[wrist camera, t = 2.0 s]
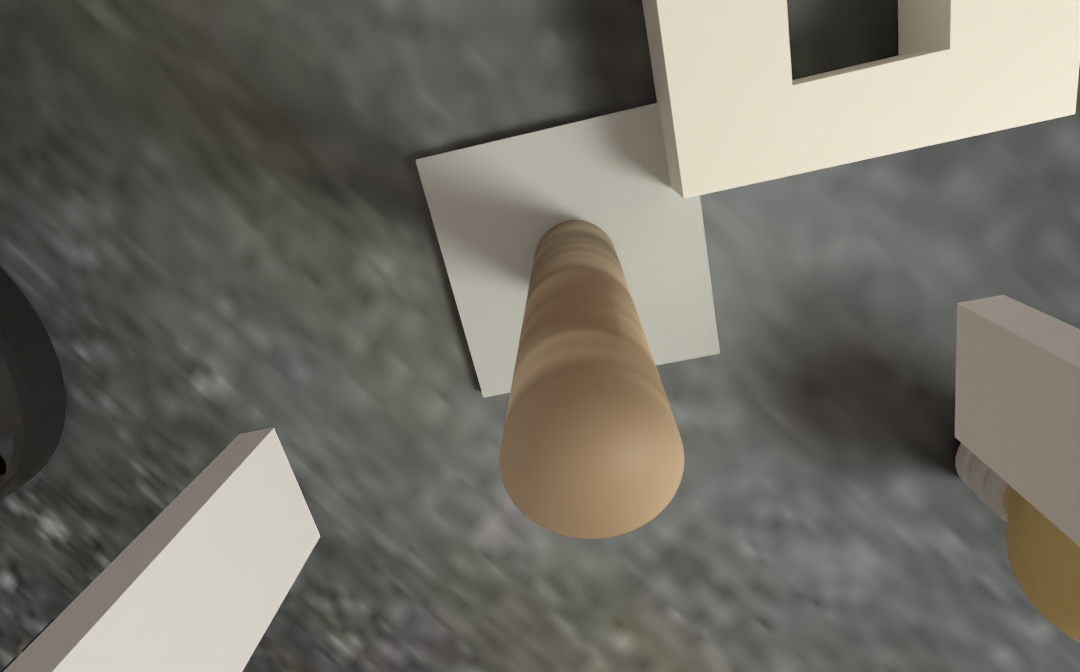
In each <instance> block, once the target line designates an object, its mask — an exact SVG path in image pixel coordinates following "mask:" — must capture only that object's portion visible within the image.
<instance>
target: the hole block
mask: <svg viewBox="0 0 1080 672" xmlns="http://www.w3.org/2000/svg"><path fill="white" fill-rule="evenodd" d="M642 3H643V10H644V17H645V24H646V31H647V38H648V45H649V51H650V58H651V65H652V72H653V79H654V86H655V93H656V100H657V103H659V109H660V116H661V123H662V130H663V137H664V144H665V151H666V158H667V165H668V172H669V179H670V186H671V188H672V189H673V190H674V191H675V192H676V193H678V194H679V195H680V196H681V197H682V198H684V199H685V198H689V197H694V196H699V195H703V194H708V193H712V192H717V191H722V190H726V189H731V188H736V187H740V186H745V185H749V184H754V183H759V182H763V181H768V180H773V179H777V178H782V177H786V176H791V175H796V174H800V173H805V172H810V171H814V170H819V169H823V168H828V167H833V166H837V165H842V164H847V163H851V162H856V161H860V160H865V159H870V158H874V157H879V156H884V155H888V154H893V153H897V152H902V151H907V150H911V149H916V148H921V147H925V146H930V145H934V144H939V143H944V142H948V141H953V140H958V139H962V138H967V137H971V136H976V135H981V134H985V133H990V132H995V131H999V130H1004V129H1009V128H1013V127H1018V126H1022V125H1027V124H1032V123H1036V122H1041V121H1046V120H1050V119H1055V118H1059V117H1064V116H1069V115H1073V114H1075V110H1076V99H1077V87H1078V75H1079V64H1080V0H898V56H894V57H889V58H885V59H881V60H876V61H872V62H868V63H864V64H859V65H855V66H851V67H846V68H842V69H838V70H834V71H829V72H825V73H821V74H816V75H812V76H808V77H804V78H799V79H795V80H792V70H791V56H790V42H789V27H788V13H787V0H642Z"/></svg>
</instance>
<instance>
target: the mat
mask: <svg viewBox="0 0 1080 672" xmlns="http://www.w3.org/2000/svg"><path fill="white" fill-rule="evenodd" d="M415 161H416V165H417V168H418V172H419V175H420V179H421V182H422V186H423V189H424V193H425V196H426V200H427V203H428V207H429V210H430V214H431V217H432V221H433V224H434V228H435V231H436V234H437V238H438V241H439V245H440V248H441V252H442V255H443V259H444V262H445V266H446V269H447V273H448V276H449V280H450V283H451V287H452V290H453V294H454V297H455V301H456V304H457V308H458V311H459V315H460V318H461V322H462V325H463V328H464V332H465V335H466V339H467V342H468V346H469V349H470V353H471V356H472V360H473V363H474V367H475V370H476V374H477V377H478V381H479V384H480V388H481V391H482V395H483V398H484V397H489V396H494V395H500V394H505V393H510V391H511V386H512V380H513V374H514V369H515V363H516V357H517V352H518V346H519V340H520V335H521V329H522V323H523V317H524V312H525V306H526V300H527V295H528V289H529V283H530V278H531V272H532V266H533V261H534V255H535V251H536V248H537V245H538V243H539V241H540V239H541V238H542V237H543V235H544V234H545V233H546V232H547V231H548V230H550V229H551V228H552V227H554V226H556V225H558V224H560V223H563V222H566V221H573V220H579V221H585V222H589V223H592V224H594V225H596V226H598V227H599V228H600V229H602V230H603V231H604V232H605V233H606V234H607V235H608V236H609V238H610V239H611V241H612V243H613V245H614V248H615V250H616V253H617V256H618V259H619V262H620V265H621V268H622V270H623V273H624V276H625V279H626V282H627V285H628V288H629V291H630V293H631V296H632V299H633V302H634V305H635V308H636V311H637V313H638V316H639V319H640V322H641V325H642V328H643V331H644V334H645V336H646V339H647V342H648V345H649V348H650V351H651V354H652V357H653V359H654V362H655V365H661V364H666V363H671V362H677V361H682V360H688V359H693V358H698V357H704V356H709V355H714V354H720V350H719V342H718V334H717V326H716V318H715V311H714V303H713V295H712V287H711V279H710V272H709V264H708V256H707V248H706V240H705V233H704V225H703V217H702V209H701V201H700V195H699V196H694V197H689V198H685V199H684V198H682V197H681V196H680V195H679V194H678V193H676V192H675V191H674V190H673V189H672V188H671V186H670V179H669V172H668V165H667V158H666V151H665V144H664V137H663V130H662V123H661V116H660V109H659V103H654V104H649V105H645V106H641V107H637V108H632V109H628V110H624V111H620V112H615V113H611V114H607V115H603V116H598V117H594V118H590V119H585V120H581V121H577V122H573V123H568V124H564V125H560V126H556V127H551V128H547V129H543V130H539V131H534V132H530V133H526V134H522V135H517V136H513V137H509V138H505V139H500V140H496V141H492V142H488V143H483V144H479V145H475V146H471V147H466V148H462V149H458V150H454V151H449V152H445V153H441V154H437V155H432V156H428V157H424V158H420V159H416V160H415Z"/></svg>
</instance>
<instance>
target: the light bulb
mask: <svg viewBox="0 0 1080 672" xmlns="http://www.w3.org/2000/svg"><path fill="white" fill-rule="evenodd" d="M955 467H956V470H957V473H958V475H959V477H960V479H961V480H962V481H963V482H964V483H965V484H966V485H967V486H968V487H969V488H970V489H971V490H972V491H974V492H975V493H976V495H977V496H978V497H979V498H980V499H981V500H982V501H983V502H984V503H986V504H987V505H989V507H990V508H991V509H992V510H993V511H994V512H995V513H996V514H997V515H998V516H999V517H1000V518H1001V519H1003V520H1004V521H1006V522H1007V528H1006V544H1007V550H1008V556H1009V560H1010V563H1011V566H1012V569H1013V572H1014V575H1015V577H1016V578H1017V580H1018V582H1019V584H1020V586H1021V587H1022V589H1023V591H1024V593H1025V594H1026V596H1027V598H1028V599H1029V600H1030V601H1031V602H1032V604H1033V605H1034V606H1035V607H1036V609H1037V610H1038V611H1039V612H1040V613H1042V614H1043V615H1044V616H1045V617H1046V618H1047V619H1048V620H1049V621H1050V622H1051V623H1052V624H1053V625H1054V626H1055V627H1057V628H1058V629H1059V630H1060V631H1062V632H1063V633H1065V634H1066V635H1068V636H1069V637H1071V638H1072V639H1074V640H1075V641H1076V642H1078V643H1079V644H1080V547H1079V546H1078V545H1077V544H1076V543H1075V542H1074V541H1072V540H1071V539H1070V538H1069V537H1068V536H1067V535H1066V534H1064V533H1063V532H1062V531H1061V530H1060V529H1059V528H1058V527H1056V526H1055V525H1054V524H1053V523H1052V522H1051V521H1050V520H1049V519H1047V518H1046V517H1045V516H1044V515H1043V514H1042V513H1041V512H1039V511H1038V510H1037V509H1036V508H1035V507H1034V506H1033V505H1031V504H1030V503H1029V502H1028V501H1027V500H1026V499H1025V498H1024V497H1022V496H1021V495H1020V494H1019V493H1018V492H1017V491H1016V490H1014V489H1013V488H1012V487H1011V486H1010V485H1009V484H1008V483H1007V482H1005V481H1004V480H1003V479H1002V478H1001V477H1000V476H999V475H997V474H996V473H995V472H994V471H993V470H992V469H991V468H989V467H988V466H987V465H986V464H985V463H984V462H983V461H982V460H980V459H979V458H978V457H977V456H976V455H975V454H974V453H972V452H971V451H970V450H969V449H968V448H967V447H966V446H964V445H963V444H962V443H961V444H960V446H959V448H958V451H957V454H956V457H955Z"/></svg>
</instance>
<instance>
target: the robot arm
mask: <svg viewBox="0 0 1080 672" xmlns="http://www.w3.org/2000/svg"><path fill="white" fill-rule="evenodd" d="M64 418H65V390H64V382H63V377H62V372H61V369H60V365H59V361H58V358H57V356H56V353H55V350H54V347H53V345H52V343H51V340H50V338H49V336H48V334H47V332H46V330H45V328H44V326H43V324H42V322H41V321H40V319H39V317H38V316H37V314H36V312H35V311H34V309H33V308H32V306H31V305H30V303H29V302H28V300H27V299H26V298H25V296H24V295H23V294H22V292H21V291H20V290H19V289H18V287H17V286H16V285H15V284H14V283H13V281H12V280H11V279H10V278H9V277H8V276H7V275H6V273H5V272H4V271H3V270H2V269H1V268H0V501H1V500H2V499H4V498H5V497H6V496H8V495H9V494H11V493H12V492H13V491H15V490H16V489H18V488H19V487H20V486H22V485H23V484H25V483H26V482H27V481H29V480H30V479H31V478H33V477H34V476H35V475H36V474H37V473H38V472H39V471H40V470H41V469H42V468H43V467H44V466H45V464H46V463H47V462H48V460H49V459H50V457H51V456H52V454H53V453H54V451H55V449H56V447H57V444H58V442H59V439H60V437H61V433H62V429H63V424H64ZM955 438H957V439H958V440H959V441H960V442H961V443H962V444H963V445H964V446H966V447H967V448H968V449H969V450H970V451H971V452H972V453H974V454H975V455H976V456H977V457H978V458H979V459H980V460H982V461H983V462H984V463H985V464H986V465H987V466H988V467H989V468H991V469H992V470H993V471H994V472H995V473H996V474H997V475H999V476H1000V477H1001V478H1002V479H1003V480H1004V481H1005V482H1007V483H1008V484H1009V485H1010V486H1011V487H1012V488H1013V489H1014V490H1016V491H1017V492H1018V493H1019V494H1020V495H1021V496H1022V497H1024V498H1025V499H1026V500H1027V501H1028V502H1029V503H1030V504H1031V505H1033V506H1034V507H1035V508H1036V509H1037V510H1038V511H1039V512H1041V513H1042V514H1043V515H1044V516H1045V517H1046V518H1047V519H1049V520H1050V521H1051V522H1052V523H1053V524H1054V525H1055V526H1056V527H1058V528H1059V529H1060V530H1061V531H1062V532H1063V533H1064V534H1066V535H1067V536H1068V537H1069V538H1070V539H1071V540H1072V541H1074V542H1075V543H1076V544H1077V545H1078V546H1079V547H1080V329H1078V328H1076V327H1074V326H1071V325H1069V324H1067V323H1065V322H1062V321H1060V320H1058V319H1056V318H1054V317H1051V316H1049V315H1047V314H1045V313H1043V312H1040V311H1038V310H1036V309H1034V308H1031V307H1029V306H1027V305H1025V304H1023V303H1020V302H1018V301H1016V300H1014V299H1012V298H1009V297H1007V296H1005V295H1000V296H994V297H989V298H983V299H978V300H972V301H967V302H961V303H957V336H956V392H955ZM319 538H320V534H319V532H318V530H317V527H316V525H315V523H314V520H313V518H312V516H311V513H310V511H309V509H308V506H307V504H306V502H305V499H304V497H303V494H302V492H301V490H300V487H299V485H298V483H297V480H296V478H295V476H294V473H293V471H292V469H291V466H290V464H289V462H288V459H287V457H286V455H285V452H284V450H283V448H282V445H281V443H280V441H279V438H278V436H277V434H276V431H275V429H274V428H271V429H265V430H260V431H254V432H249V433H243V434H239V435H238V436H237V437H236V438H235V439H234V440H233V441H232V442H231V443H230V444H229V445H228V446H227V447H226V448H225V449H224V450H223V451H222V452H221V453H220V454H219V455H218V456H217V457H216V458H215V459H214V460H213V461H212V462H211V463H210V464H209V465H208V466H207V467H206V468H205V469H204V470H203V471H202V472H201V473H200V474H199V475H198V476H197V477H196V478H195V479H194V480H193V481H192V482H191V483H190V484H189V485H188V486H187V487H186V489H185V490H184V491H183V492H182V493H181V494H180V495H179V496H178V497H177V498H176V499H175V500H174V501H173V502H172V503H171V504H170V505H169V506H168V507H167V508H166V509H165V510H164V511H163V512H162V513H161V514H160V515H159V516H158V517H157V518H156V519H155V520H154V521H153V522H152V523H151V524H150V525H149V526H148V527H147V528H146V529H145V530H144V531H143V532H142V533H141V534H140V535H139V536H138V537H137V538H136V539H135V540H134V541H133V542H132V543H131V544H130V545H129V546H128V547H127V548H126V549H125V550H124V551H123V552H122V553H121V554H120V555H119V556H118V557H117V558H116V559H115V560H114V561H113V562H112V563H111V564H110V565H109V566H108V567H107V568H106V569H105V570H104V571H103V572H102V573H101V574H100V575H99V576H98V577H97V578H96V579H95V580H94V581H93V582H92V583H91V584H90V585H89V586H88V587H87V588H86V589H85V590H84V591H83V592H82V593H81V594H80V595H79V596H78V597H77V598H76V599H75V600H74V601H73V602H72V603H71V604H70V605H69V606H68V607H67V608H66V609H65V610H64V611H63V612H62V613H61V614H60V615H59V616H57V617H56V618H55V619H53V620H52V621H51V622H50V623H49V624H48V625H47V626H46V627H45V628H44V629H43V630H42V631H41V632H40V633H39V634H38V635H37V636H36V637H35V638H34V639H33V640H32V641H31V642H30V643H29V644H28V645H27V646H26V647H25V648H24V649H23V650H22V653H21V654H20V655H19V656H18V657H15V658H14V659H13V660H12V661H11V662H10V663H9V664H8V665H7V666H6V667H5V668H4V669H3V670H2V671H1V672H242V671H243V669H244V668H245V666H246V664H247V662H248V661H249V659H250V657H251V655H252V654H253V652H254V650H255V649H256V647H257V645H258V643H259V642H260V640H261V638H262V636H263V635H264V633H265V631H266V630H267V628H268V626H269V624H270V623H271V621H272V619H273V617H274V616H275V614H276V612H277V610H278V609H279V607H280V605H281V604H282V602H283V600H284V598H285V597H286V595H287V593H288V591H289V590H290V588H291V586H292V585H293V583H294V581H295V579H296V578H297V576H298V574H299V572H300V571H301V569H302V567H303V565H304V564H305V562H306V560H307V559H308V557H309V555H310V553H311V552H312V550H313V548H314V546H315V545H316V543H317V541H318V540H319Z"/></svg>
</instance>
